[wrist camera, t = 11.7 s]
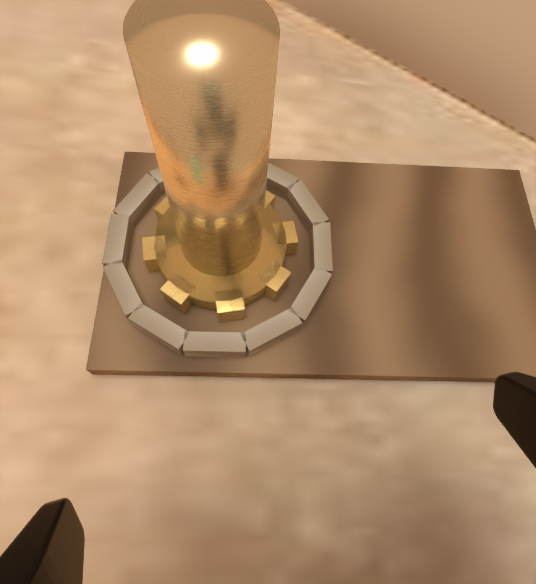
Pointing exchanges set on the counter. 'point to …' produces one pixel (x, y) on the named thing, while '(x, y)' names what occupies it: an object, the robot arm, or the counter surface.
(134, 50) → the gold piece
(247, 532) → the counter surface
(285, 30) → the counter surface
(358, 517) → the counter surface
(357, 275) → the carrier plate
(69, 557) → the robot arm
